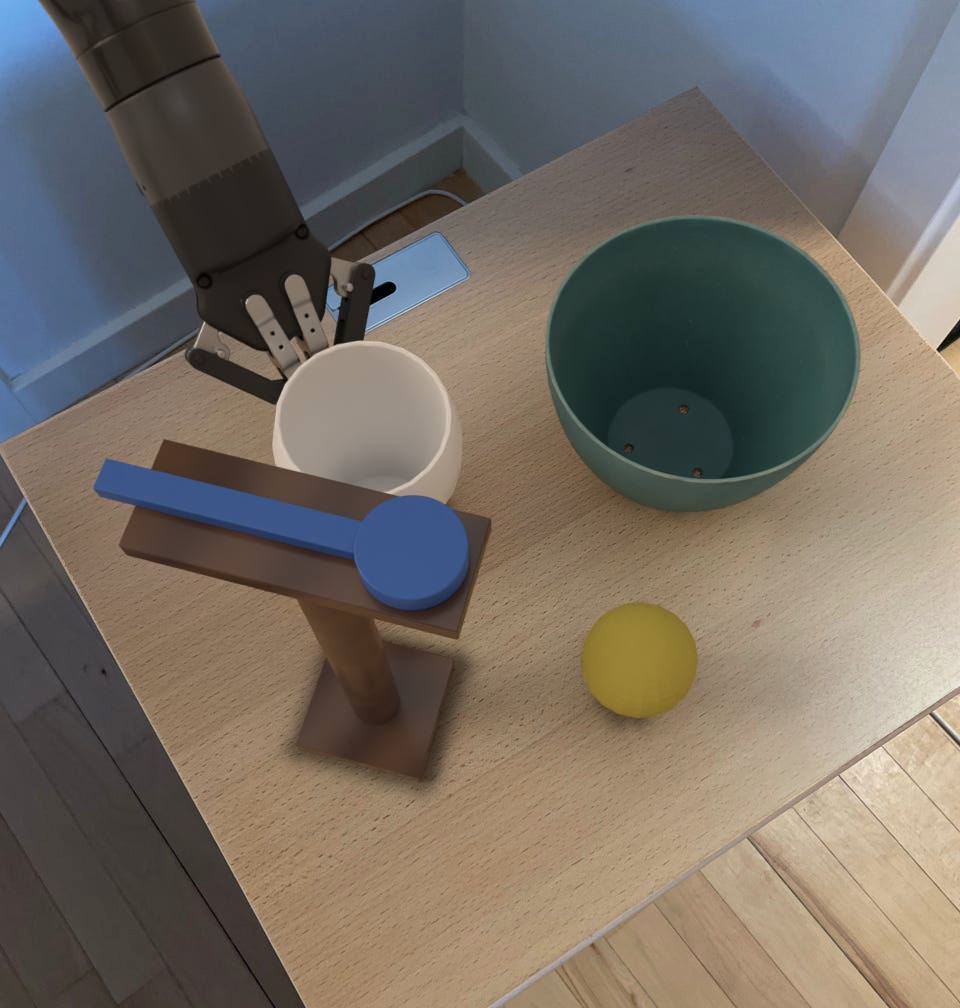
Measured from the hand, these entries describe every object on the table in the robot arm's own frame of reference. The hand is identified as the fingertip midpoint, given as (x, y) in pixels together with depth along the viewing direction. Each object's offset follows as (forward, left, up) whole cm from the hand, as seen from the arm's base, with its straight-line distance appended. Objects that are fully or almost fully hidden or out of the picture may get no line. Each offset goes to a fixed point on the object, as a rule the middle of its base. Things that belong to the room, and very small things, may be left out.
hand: (345, 443), depth 65 cm
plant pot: (+20, +8, -6) cm, 22 cm away
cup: (+3, -3, -5) cm, 7 cm away
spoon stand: (+6, -15, -5) cm, 17 cm away
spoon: (+6, -15, +21) cm, 26 cm away
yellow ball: (+21, -10, -6) cm, 24 cm away
